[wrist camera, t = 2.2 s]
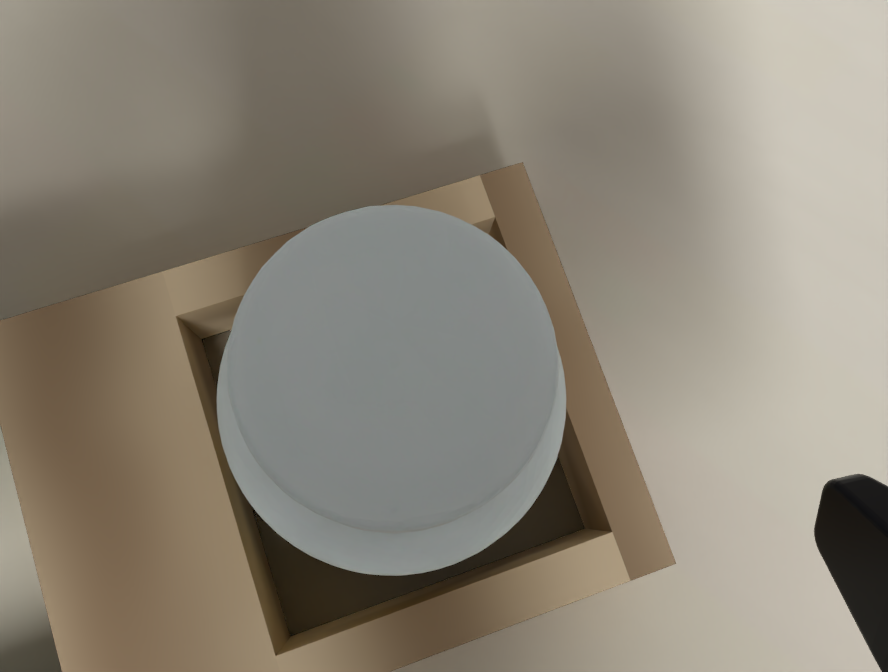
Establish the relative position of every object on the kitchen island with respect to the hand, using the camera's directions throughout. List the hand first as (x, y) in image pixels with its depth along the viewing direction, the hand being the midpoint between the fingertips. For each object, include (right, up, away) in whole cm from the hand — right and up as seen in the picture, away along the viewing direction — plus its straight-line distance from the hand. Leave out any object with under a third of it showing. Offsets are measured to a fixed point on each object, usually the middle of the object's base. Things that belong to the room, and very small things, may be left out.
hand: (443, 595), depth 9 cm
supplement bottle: (-1, +1, +10) cm, 10 cm away
